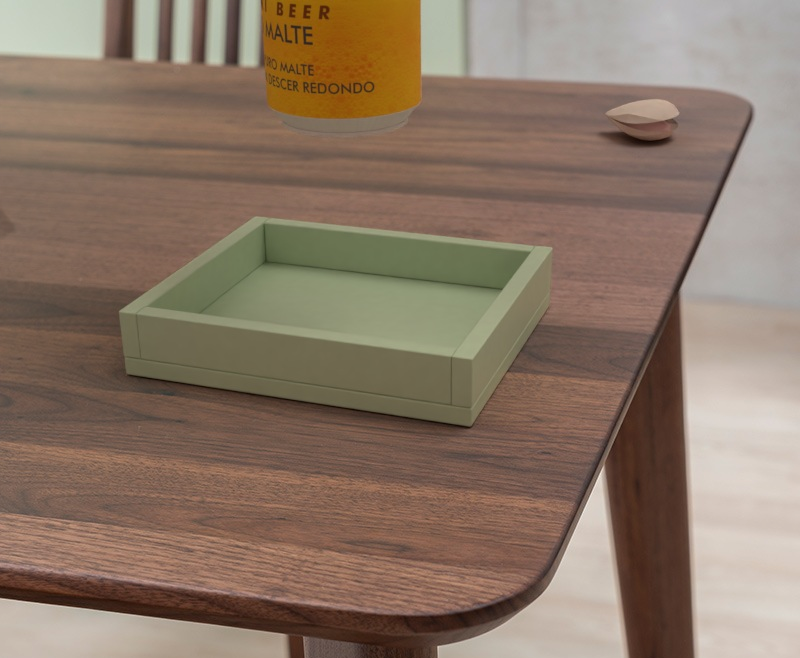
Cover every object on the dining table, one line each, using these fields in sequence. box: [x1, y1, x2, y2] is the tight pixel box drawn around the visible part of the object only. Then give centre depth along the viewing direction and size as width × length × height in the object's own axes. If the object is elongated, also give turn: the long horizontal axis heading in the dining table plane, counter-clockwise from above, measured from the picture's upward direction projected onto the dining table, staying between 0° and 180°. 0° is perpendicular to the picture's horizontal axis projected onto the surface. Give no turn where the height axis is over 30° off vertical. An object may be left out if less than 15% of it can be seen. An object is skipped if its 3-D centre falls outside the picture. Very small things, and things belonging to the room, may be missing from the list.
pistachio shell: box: [605, 98, 680, 142], centre depth 83 cm, size 4×5×2 cm
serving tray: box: [118, 215, 554, 428], centre depth 53 cm, size 15×13×3 cm
